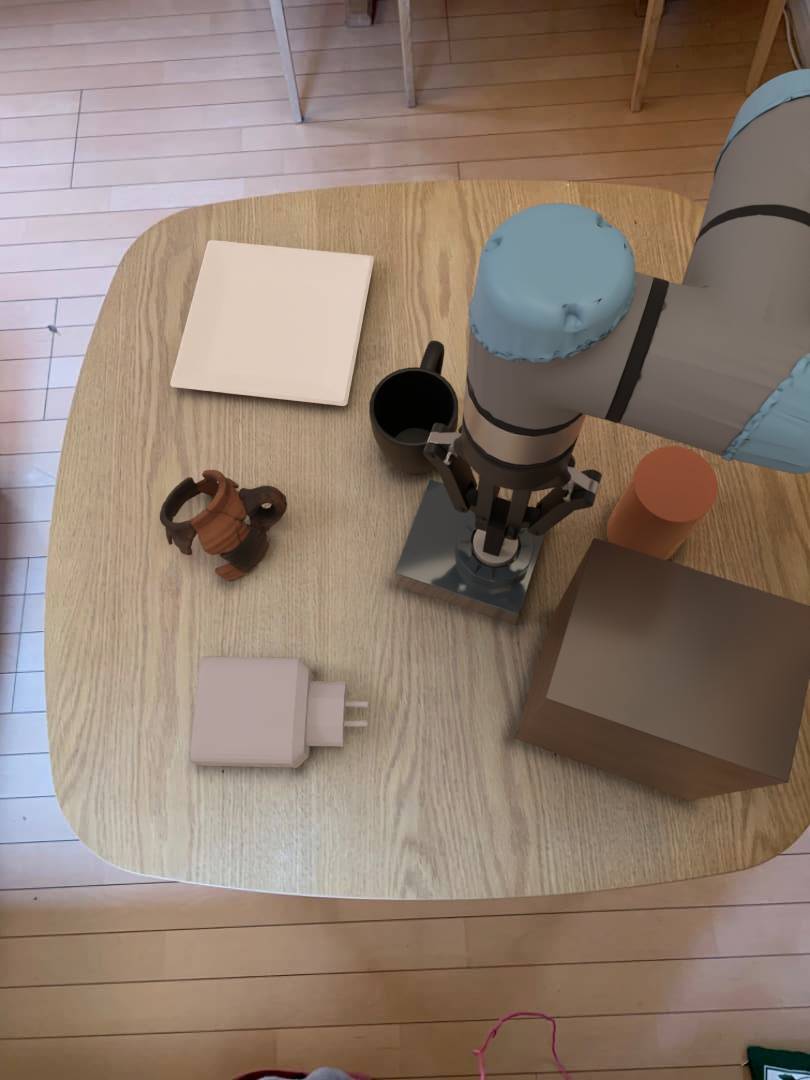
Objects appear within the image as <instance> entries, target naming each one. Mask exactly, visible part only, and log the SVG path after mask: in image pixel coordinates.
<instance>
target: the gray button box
mask: <svg viewBox="0 0 810 1080" xmlns="http://www.w3.org/2000/svg"><path fill="white" fill-rule="evenodd" d="M475 520H476V518H475V513H474V512H472V511H470V510H469V511H468V512H467V513H462V512H458V511H457V510H456V509H455V508H454V506H453V504H452V502H451V500H450V497H449V495H448V493H447V491H446V488H445V486H444V484H443V482H440V481H437V480H435V479H431V478H430V479H429V480H428V483H427V485H426V487H425V491H424V493H423V496H422V498H421V501H420V504H419V506H418V510H417V512H416V515H415V516H414V520H413V522H412V524H411V528H410V530H409V533H408V536H407V538H406V540H405V544H404V546H403V548H402V551H401V554H400V556H399V558H398V562H397V564H396V567H395V570H394V572H393V574H394V581H395V586H396V587H400V588H403V589H405V590H407V591H411V592H413V593H418V594H420V595H422V596H426V597H429V598H432V599H435V600H437V601H441V602H443V603H447V604H449V605H452V606H456V607H459V608H462V609H464V610H467V611H470V612H474V613H476V614H480V615H482V616H486V617H488V618H491V619H495V620H497V621H501V622H503V623H506V624H509V625H512V626H516V624H517V621H518V619H519V617H520V614H521V610H522V608H523V604H524V601H525V599H526V596H527V592H528V589H529V586H530V583H531V581H532V576H533V573H534V571H535V568H536V565H537V561H538V558H539V555H540V552H541V549H542V545H543V544H544V540H545V537H546V534H547V532H546V533H544V534H543V535H542V536H534V535H532V534H530V533H529V532H528V528H522V529H521V530H520V533H519V536H518V548H517V551H516V555H515V558H514V559H513V561H512V562H511V563H510V564H509V565H508V566H507V567H502V568H496V569H493V568H490V567H487V566H484V565H481V564H480V563H479V562H478V561H477V560H476V559H475V558H474V555H473V550H472V547H473V540H474V535H475V533H476V531H477V530H478V529H476V527H475Z"/></svg>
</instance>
